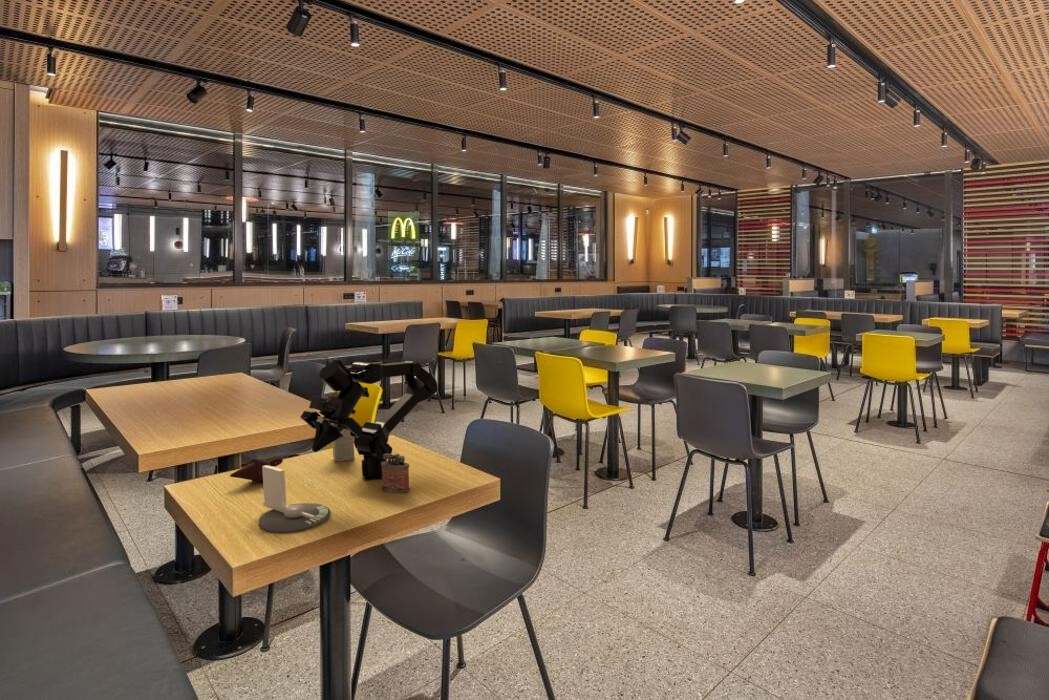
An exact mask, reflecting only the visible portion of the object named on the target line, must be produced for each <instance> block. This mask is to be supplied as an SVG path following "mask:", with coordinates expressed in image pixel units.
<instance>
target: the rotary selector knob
mask: <svg viewBox="0 0 1049 700" xmlns="http://www.w3.org/2000/svg"><path fill="white" fill-rule="evenodd" d="M262 472H263V481H262V483H263V484H262V485H263V507H265V508H267V509H271V510H273V509H274V510H277V511H280V512H283V513H284V517H286V518H298V517H301V516H305V517H308V518H311V519H315V516H314V515H311V514H308V513H306V506H305V505H299V504H300V503H297V504H298V505H292V504H290V505H291V506H288V505H289V504H288V505H287V494H286V493H287V492H286V477H285V469H284V468H283V469H282V468H279V467H276V466H275V467H274V466H273V467H272V466H268V465H265V466H262Z"/></svg>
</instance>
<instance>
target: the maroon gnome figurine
mask: <svg viewBox="0 0 1049 700" xmlns="http://www.w3.org/2000/svg"><path fill="white" fill-rule="evenodd" d="M283 462H284V459H283V458H281V457H279V456H278V457H275V458H272V459H271V460H269V461H267V460H266V459H264V458H252V459H251V460H250V461H249V462H247V465H245V466H243V467H242V468H240V469H238V470H236V471H234V472H232V473H231V474H229V477H230V478H237V479H244V480H249V481H251V482H252V483H254V482H255V483H254V484H257V483H258V484H259V483H261V482H263V472H262V466H265V465H268V466H272V467H275V468H276V467H277V466H279V465H281V464H282V463H283Z"/></svg>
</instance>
